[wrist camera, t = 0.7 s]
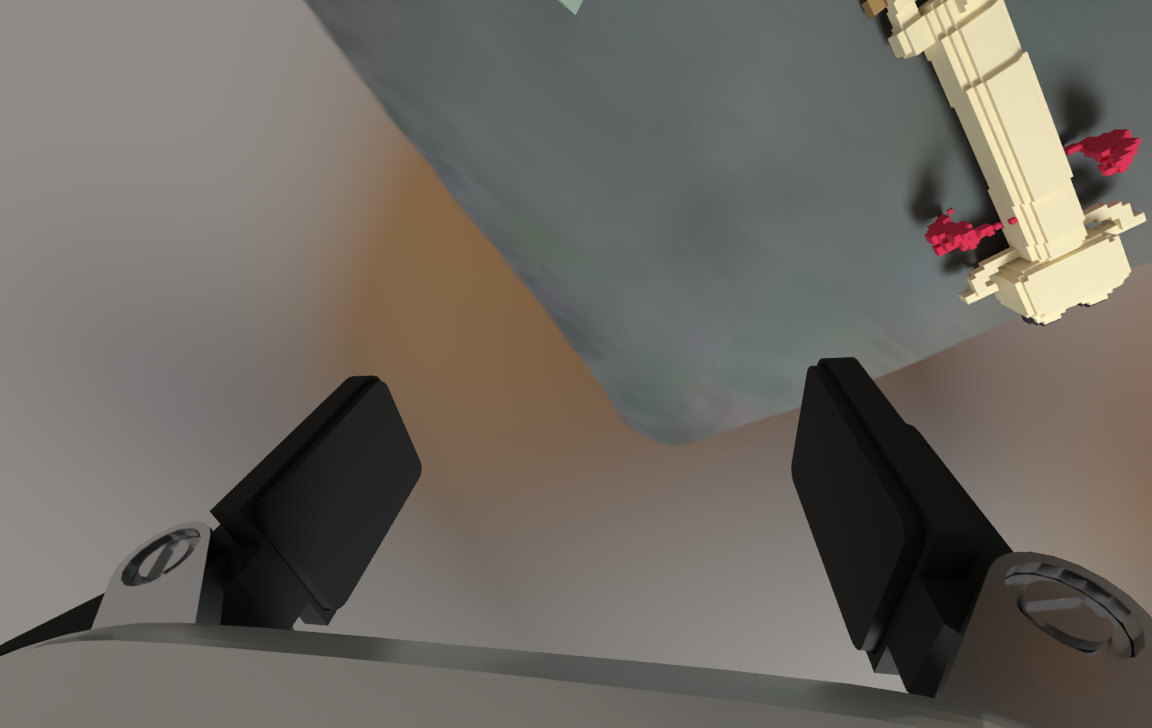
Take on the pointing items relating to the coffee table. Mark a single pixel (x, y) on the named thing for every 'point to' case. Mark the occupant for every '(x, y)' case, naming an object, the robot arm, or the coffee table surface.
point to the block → (571, 5)
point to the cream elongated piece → (1017, 163)
